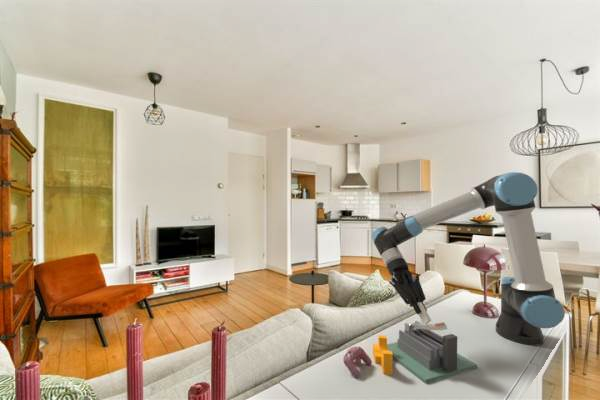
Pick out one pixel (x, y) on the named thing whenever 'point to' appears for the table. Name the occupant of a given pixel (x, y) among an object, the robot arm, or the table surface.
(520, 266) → the robot arm
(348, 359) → the video game controller
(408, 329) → the heat sink board
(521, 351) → the table surface
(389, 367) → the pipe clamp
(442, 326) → the retention strap
